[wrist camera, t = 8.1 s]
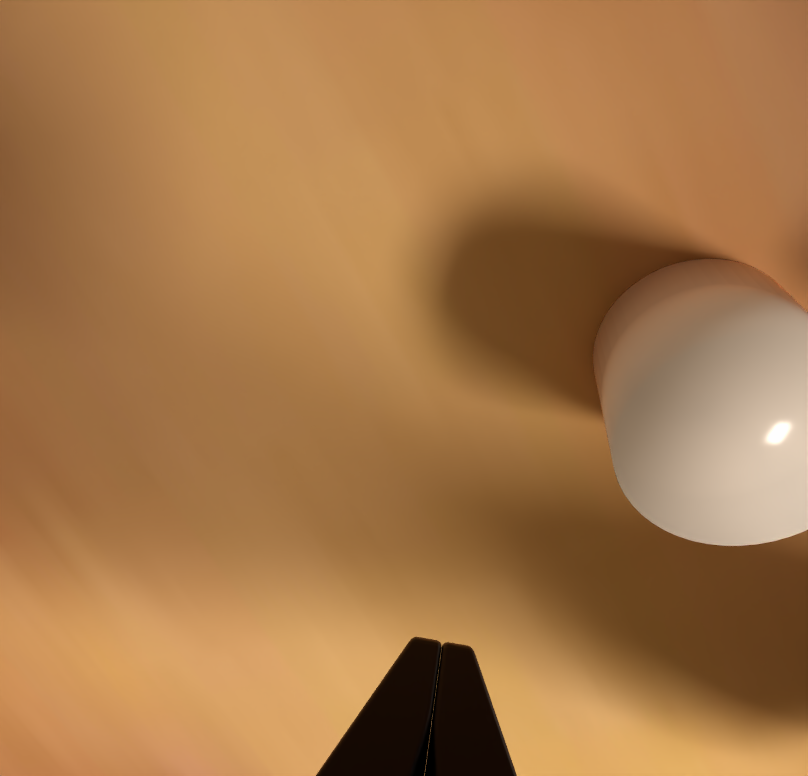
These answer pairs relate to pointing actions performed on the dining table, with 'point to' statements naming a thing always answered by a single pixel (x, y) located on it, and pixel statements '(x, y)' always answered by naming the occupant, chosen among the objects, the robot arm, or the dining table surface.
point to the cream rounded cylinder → (708, 402)
